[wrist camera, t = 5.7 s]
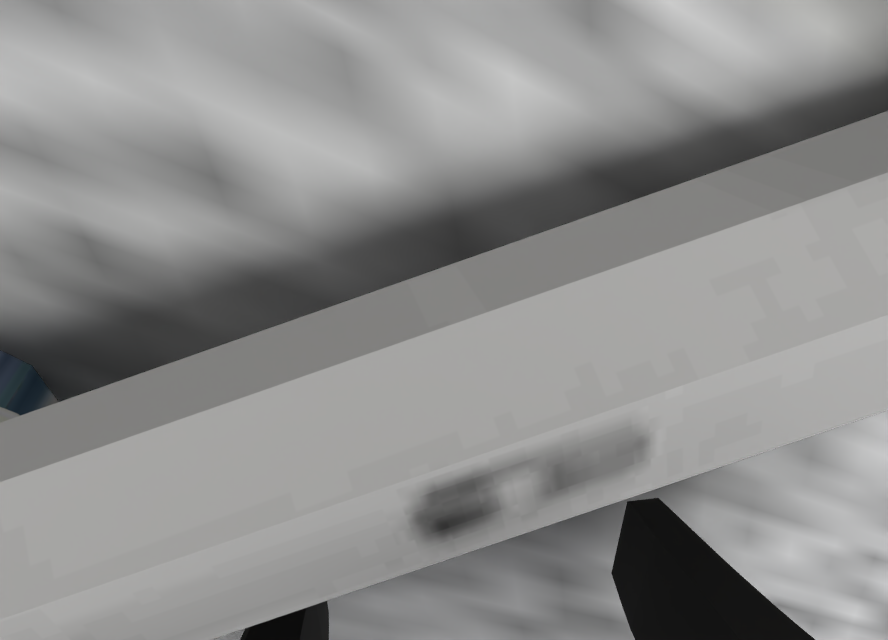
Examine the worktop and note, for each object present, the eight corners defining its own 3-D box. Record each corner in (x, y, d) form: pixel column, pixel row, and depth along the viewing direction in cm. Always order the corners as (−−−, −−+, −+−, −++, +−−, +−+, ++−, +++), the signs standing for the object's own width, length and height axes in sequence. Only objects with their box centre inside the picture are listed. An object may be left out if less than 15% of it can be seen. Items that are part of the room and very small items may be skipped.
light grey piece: (1405, 330, 8) (-719, 1296, 5) (936, 200, 14) (-194, 605, 11) (1755, -121, 6) (-2442, 1339, 2) (996, -54, 11) (-495, 381, 8)
